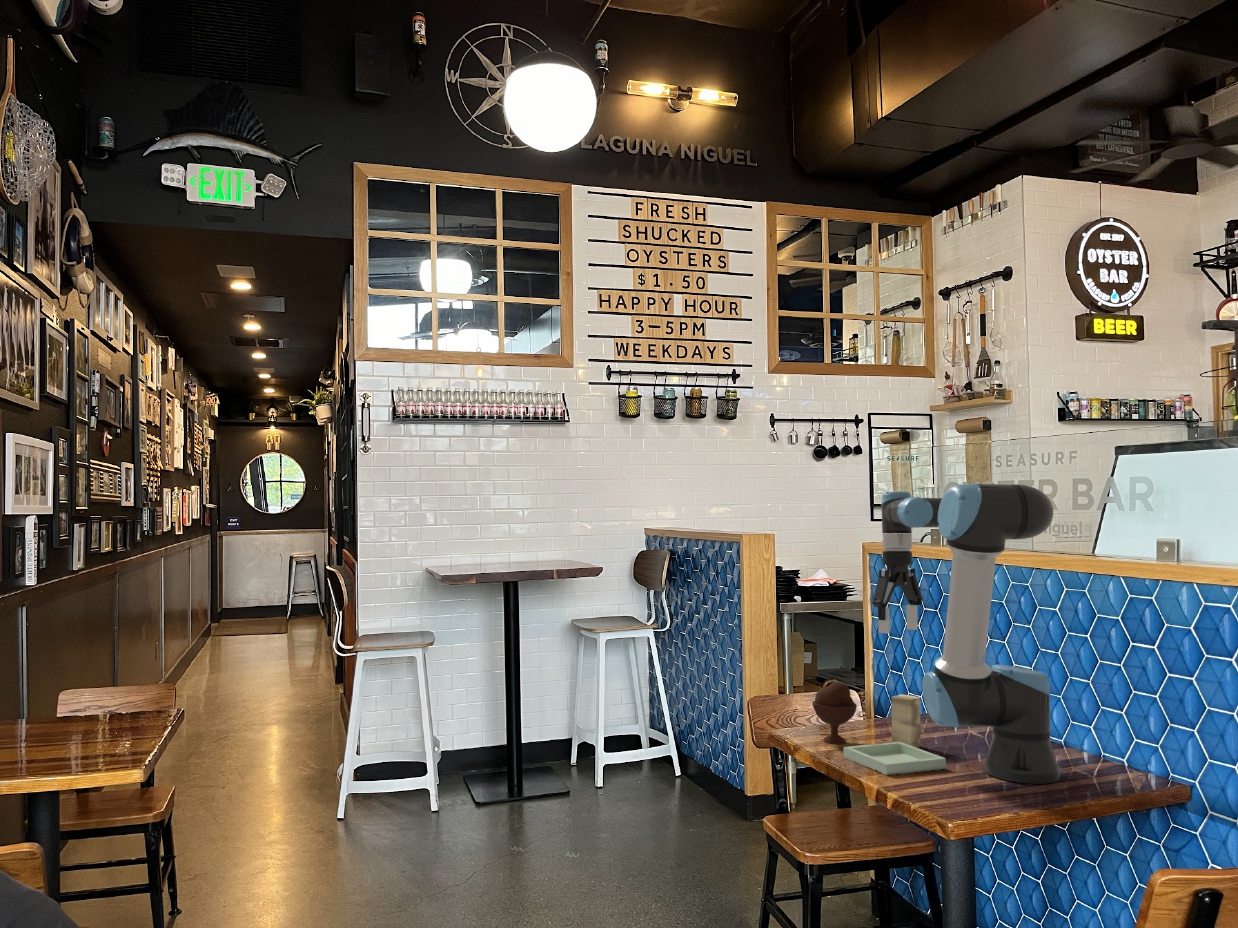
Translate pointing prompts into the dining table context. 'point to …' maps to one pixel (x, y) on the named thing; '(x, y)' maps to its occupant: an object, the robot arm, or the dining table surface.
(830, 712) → the ice cream bowl
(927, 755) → the tray
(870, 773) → the dining table surface
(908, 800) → the dining table surface
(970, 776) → the dining table surface
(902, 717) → the block
